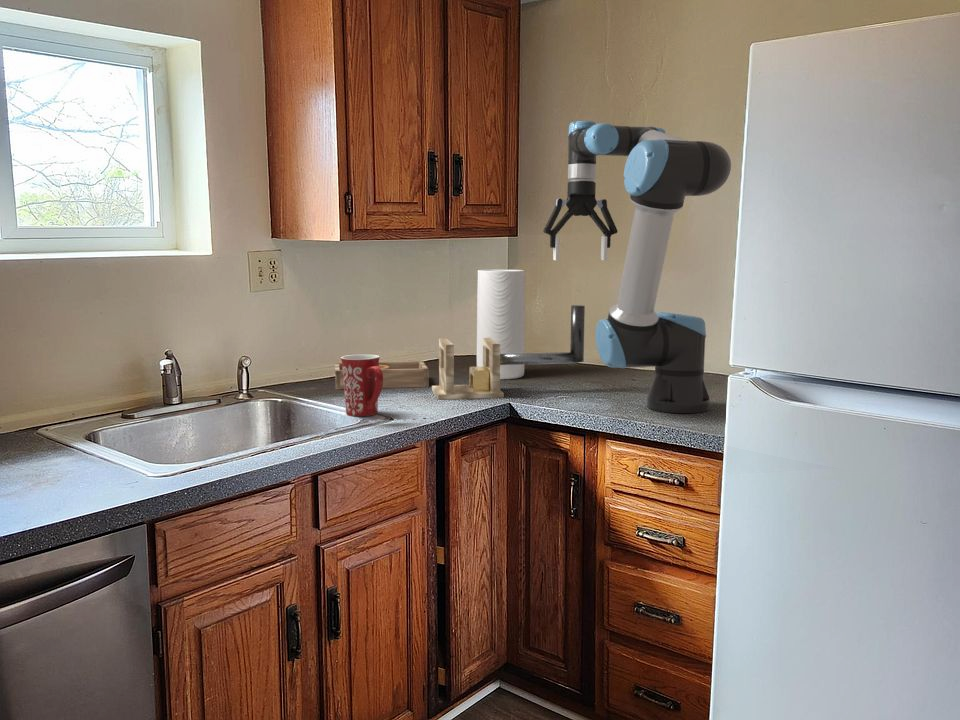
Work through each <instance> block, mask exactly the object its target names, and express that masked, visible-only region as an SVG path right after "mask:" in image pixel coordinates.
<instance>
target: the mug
mask: <svg viewBox="0 0 960 720" xmlns="http://www.w3.org/2000/svg"><path fill="white" fill-rule="evenodd" d="M380 358H381V356H380V355H378V354H377V355H376V354H350V355H349V354H347V355H343V356H341V357H340V360H341V363H342V369H343V381H344V389H343V390H344V391H343V393H344V399H345V400H344V403H345V413H346V415H347V416H349V417H369V416H370V417H371V416H375V415H377V414H378V410H379V409H378V408H379V407H378V405H379V404H378V401H379V397H380V395H381V392H382V390H383V388H382V386H383V373H382V370H381V369H380V368H379V362H380Z"/></svg>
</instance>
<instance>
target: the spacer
mask: <svg viewBox="0 0 960 720" xmlns="http://www.w3.org/2000/svg"><path fill="white" fill-rule="evenodd" d="M469 385H470V388H473V391H489V370H488V369H487V368H486V367H484V366H478V367H477V366H469Z"/></svg>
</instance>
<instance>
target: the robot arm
mask: <svg viewBox="0 0 960 720" xmlns="http://www.w3.org/2000/svg"><path fill="white" fill-rule="evenodd" d="M567 139H568V140H567V141H568V143H567V144H568V147H567V148H568V149H567V152H568V153H567V154H568V155H567V158H568V159H567V160H568V161H567V179H568V180H569V181H568V183H567V196H566V197H567V198H566V199H562V198H557V199H555V204H554V208H553V211H552V213H551V214H550V217H549V218H548V221H547V223H546V224H545V226H544V228H543V233H544V234H547V235H549V247H550V248H552V249H553V250H552V251H553V253H552V254H553V255H552V256H553V257H552V259H553V261H560V259H559V258H560V257H559V253H560V251H559V250H560V246H559V245H560V237H559V235H557V234H558V233H559V232H560V231H561V229H562V228H563V227H564V226H565V224H566V223H567V222H568V221H569V219H571V218H572V217H573V216H574V217H579V216H582V217H587V216H589V218H591V219H592V221H593V222H594V224H595V225H596V226H597V228H598V229H599V230H600V231H601V233H602V234H603V235H602V236H601V237H600V238H601V239H600V240H601V241H600V242H601V243H600V244H601V245H600V246H601V247H600V260H601V261H608V260H607V258H608V257H607V256H608V249H610V248H611V237H612V235H615V234H617V233H618V229H617V226H616V224H615V222H614V220H613V217H612V215H611V213H610V210H609V208H608V200H607V199H605V198H604V199H602V198H601V199H600V200H597V199H596V191H597V190H596V188H597V187H596V184H597V182H596V181H595V180H596V178H597V156H610V157H612V156H615V157H617V156H618V157H627V159H626V161H625V165H624V168H623V169H624V171H623V178H624V180H623V184H624V189H625V190H626V192H627V193H628V194H629V195H630V197H629V201H630V202H631V203H632V205H633V206H634V212H633V218H632V223H631V227H630V228H631V229H630V234H629V240H628V243H627V250H626V255H625V261H624V266H623V270H622V276H621V281H620V287H619V293H618V296H617V297H618V298H617V302H616V304H614V305H613V306H611V307H610V308H609V310H608V316H607V318H602V319H600V320H598V322H597V324H596V327H595V344H596V348H597V351H598V352H597V353H598V354H599V357H600V359H601V361H602V363H603V364H604V365H605V366H606V367H609V368H612V369H613V368H615V369H616V368H617V369H619V368H620V369H626V368H646V367H647V368H649V367H655V369H654V378H653V380H652V383H651V386H650V388H649V391H648V394H647V396H646V408H648V409H649V410H654V411H656V412H662V413H672V414H697V413H698V414H700V413H705V412H708V411H709V410H710V409H711V400H710V395H709V392H708V389H707V385H706V382H705V378H704V377H705V376H704V375H705V354H706V351H705V350H706V337H707V333H706V322H705V320H704V319H703V318H702V317H700V316H695V315H694V316H693V315H689V314H688V315H687V314H682V313H681V314H680V313H675V312H674V313H671V312H665V311H657V312H656V311H655V306H656V301H657V297H658V292H659V287H660V282H661V278H662V274H663V268H664V264H665V258H666V254H667V249H668V244H669V239H670V235H671V230H672V227H673V221H674V216H675V214H676V213H677V212H678V211H680V210H682V209H683V207H684V202H685V198H686V197H701V196H705V195H710V194H712V193H716V191H717V190H720V189H721V187H723V186H724V185H725V184H726V182H727V181H728V179H729V177H730V173H731V171H732V170H731V169H732V168H731V167H732V163H731V158H730V155H729V154H728V152H727V151H726V149H725V148H724V147H722V146H721V145H720V144H717V143H714V142H709V141H703V140H702V141H701V140H700V141H699V140H698V141H696V140H695V141H694V140H687V139H684V138H680V137H678V136H674V135H672V134H668V133H667V132H666V131H665V129H663V128H662V127H656V126H630V125H629V126H627V125H612V124H611V123H606V122H602V123H600V122H599V123H596V122H595V121H592V120H577V121H576V120H575V121H572V122H570V124H569V126H568V134H567ZM565 205H566V207H567V211H566V212H565V213H564V215H563V216H562V217H561V218H560V220H559V221H558V222H557V223H556V225H555V226H554V224H555V222H556V221H557V219H558V216H559V215H560V212H561V210H562V208H564V206H565ZM596 206H597V208H599V209H600V210H601V215H602V216H603V218H604V221H605V223H606V224H605V223H604V221H603V220H602V219H601V218H600V216H599V215H598V213H597V211H596V210H595V208H596ZM553 226H554V227H553Z"/></svg>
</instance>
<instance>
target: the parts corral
mask: <svg viewBox="0 0 960 720" xmlns="http://www.w3.org/2000/svg"><path fill="white" fill-rule="evenodd" d="M379 365H387V366H389V369H381V370H382V373H383V386H382V389H394V388H397V389H398V388H399V389H400V388H427V387H430V386H429V382H430V381H429V378H430V377H429V367H428V366H427V365H426V363H425V362H424V361H423V360H421V361H419V360H418V361H417V360H415V361H379ZM334 378H335V380H334V381H335V390H344V381H343V369H342V362H335V363H334Z"/></svg>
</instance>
